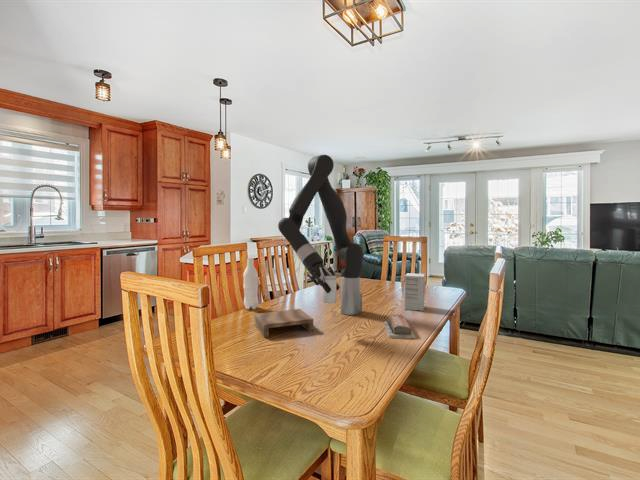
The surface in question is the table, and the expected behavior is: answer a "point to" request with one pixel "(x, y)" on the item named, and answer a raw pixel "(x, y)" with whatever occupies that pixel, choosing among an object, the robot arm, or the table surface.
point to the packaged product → (398, 327)
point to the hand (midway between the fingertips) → (333, 290)
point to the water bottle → (250, 285)
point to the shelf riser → (282, 320)
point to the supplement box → (414, 291)
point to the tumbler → (331, 295)
